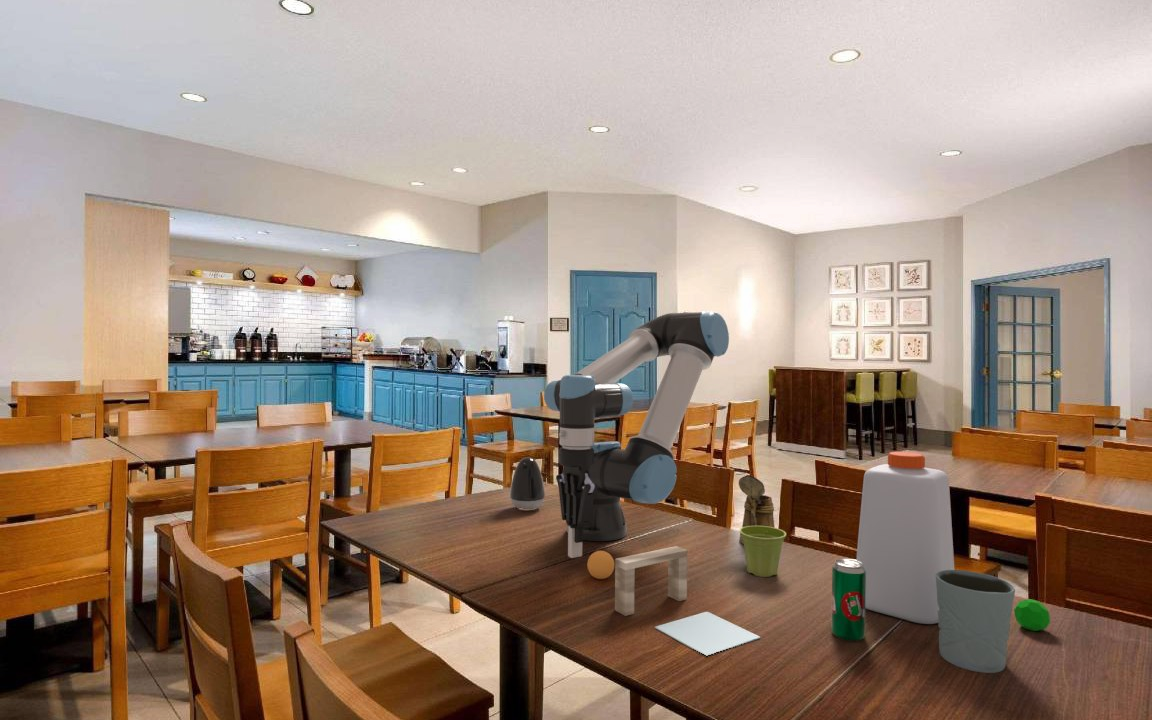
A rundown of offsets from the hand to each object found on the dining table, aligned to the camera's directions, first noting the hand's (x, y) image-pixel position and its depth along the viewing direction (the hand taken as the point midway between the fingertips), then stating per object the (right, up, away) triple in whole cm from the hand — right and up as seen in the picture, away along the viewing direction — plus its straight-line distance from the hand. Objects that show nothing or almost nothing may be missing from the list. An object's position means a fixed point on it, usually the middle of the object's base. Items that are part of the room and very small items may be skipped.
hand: (575, 556), depth 138 cm
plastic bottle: (+60, -3, -21) cm, 64 cm away
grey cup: (+60, -3, -41) cm, 73 cm away
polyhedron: (+77, -3, -30) cm, 83 cm away
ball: (+5, +1, -8) cm, 9 cm away
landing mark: (+22, -3, -33) cm, 39 cm away
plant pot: (+39, -3, -3) cm, 40 cm away
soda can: (+45, -3, -33) cm, 56 cm away
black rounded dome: (-14, -2, +49) cm, 51 cm away
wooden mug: (+43, -3, +16) cm, 46 cm away
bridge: (+14, -2, -21) cm, 25 cm away
